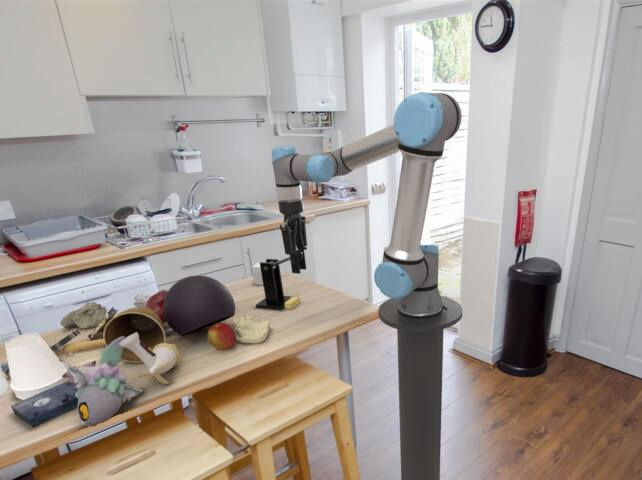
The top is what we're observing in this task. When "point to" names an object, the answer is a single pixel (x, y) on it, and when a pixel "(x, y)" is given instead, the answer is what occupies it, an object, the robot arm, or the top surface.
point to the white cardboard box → (257, 274)
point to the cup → (32, 365)
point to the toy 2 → (100, 386)
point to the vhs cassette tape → (46, 404)
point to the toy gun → (153, 356)
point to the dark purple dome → (197, 304)
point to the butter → (292, 302)
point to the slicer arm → (287, 259)
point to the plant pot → (135, 330)
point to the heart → (157, 304)
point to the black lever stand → (272, 287)
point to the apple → (221, 336)
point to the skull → (141, 300)
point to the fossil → (85, 316)
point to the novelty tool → (95, 344)
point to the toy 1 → (64, 340)
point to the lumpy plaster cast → (250, 330)
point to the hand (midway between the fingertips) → (299, 270)
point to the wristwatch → (5, 368)
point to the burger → (103, 324)
